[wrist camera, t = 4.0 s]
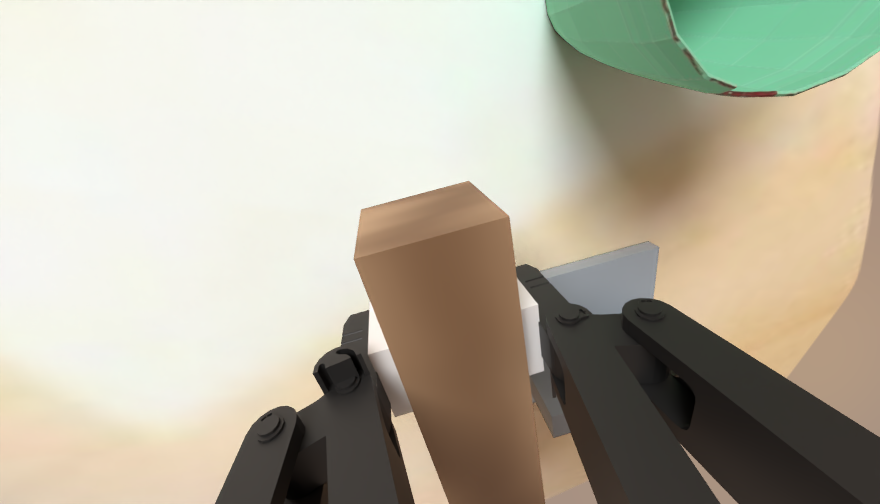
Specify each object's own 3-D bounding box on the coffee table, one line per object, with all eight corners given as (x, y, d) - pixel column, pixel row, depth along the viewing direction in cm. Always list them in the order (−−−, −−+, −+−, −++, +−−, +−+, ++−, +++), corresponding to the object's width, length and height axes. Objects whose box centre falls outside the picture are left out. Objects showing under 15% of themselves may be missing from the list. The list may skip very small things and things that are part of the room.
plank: (470, 521, 19) (488, 604, 16) (361, 209, 10) (353, 259, 7) (525, 502, 19) (554, 580, 16) (468, 180, 10) (509, 216, 7)
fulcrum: (507, 399, 28) (543, 486, 21) (487, 286, 22) (527, 359, 16) (636, 360, 28) (708, 435, 22) (648, 241, 23) (748, 295, 16)
